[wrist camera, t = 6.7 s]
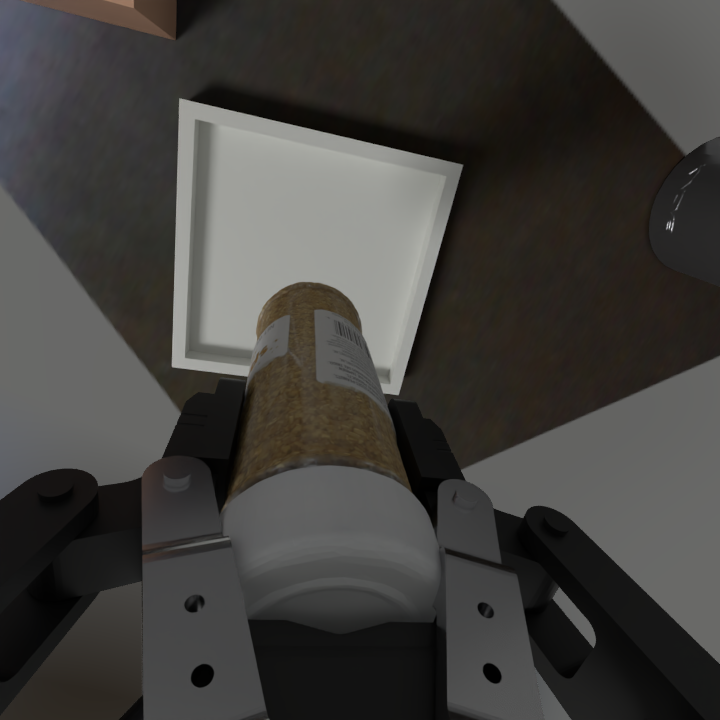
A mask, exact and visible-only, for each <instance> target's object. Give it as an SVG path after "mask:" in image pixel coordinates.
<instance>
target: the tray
mask: <svg viewBox="0 0 720 720" xmlns="http://www.w3.org/2000/svg"><path fill="white" fill-rule="evenodd" d="M462 167H463V165H461V164H457V163H453V162H448V161H444V160H440V159H436V158H431V157H427V156H423V155H419V154H414V153H410V152H406V151H402V150H397V149H393V148H389V147H384V146H380V145H376V144H372V143H367V142H363V141H359V140H355V139H350V138H346V137H342V136H338V135H333V134H329V133H325V132H320V131H316V130H312V129H308V128H303V127H299V126H295V125H291V124H286V123H282V122H278V121H273V120H269V119H265V118H261V117H256V116H252V115H248V114H244V113H239V112H235V111H231V110H227V109H222V108H218V107H214V106H209V105H205V104H201V103H197V102H192V101H188V100H184V99H180V101H179V136H178V171H177V206H176V241H175V277H174V312H173V347H172V367H176V368H184V369H192V370H200V371H208V372H216V373H224V374H232V375H241V376H248V375H249V369H250V364H251V358H252V354H253V350H254V347H255V345H256V342H257V335H256V328H257V322H258V317H259V315H260V313H261V311H262V308H263V306H264V305H265V303H266V302H267V301H268V300H269V299H270V298H271V297H272V296H273V295H274V294H276V293H277V292H278V291H279V290H281V289H283V288H285V287H287V286H289V285H292V284H294V283H298V282H313V283H322V284H325V285H328V286H331V287H333V288H336V289H337V290H339V291H340V292H342V293H343V294H344V295H345V296H346V297H348V298H349V299H350V301H351V302H352V303H353V305H354V307H355V309H356V310H357V312H358V314H359V318H360V320H361V325H362V335H363V337H364V339H365V341H366V343H367V346H368V349H369V351H370V354H371V358H372V361H373V364H374V367H375V370H376V373H377V376H378V379H379V382H380V385H381V388H382V391H383V393H386V394H394V395H399V391H400V388H401V384H402V381H403V377H404V374H405V370H406V366H407V363H408V359H409V356H410V352H411V349H412V345H413V342H414V338H415V334H416V331H417V327H418V324H419V320H420V317H421V313H422V310H423V306H424V302H425V299H426V295H427V292H428V288H429V285H430V281H431V278H432V274H433V270H434V267H435V263H436V260H437V256H438V253H439V249H440V246H441V242H442V238H443V235H444V231H445V228H446V224H447V221H448V217H449V214H450V210H451V206H452V203H453V199H454V196H455V192H456V189H457V185H458V182H459V178H460V174H461V171H462Z"/></svg>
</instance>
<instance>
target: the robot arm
mask: <svg viewBox="0 0 720 720" xmlns="http://www.w3.org/2000/svg"><path fill="white" fill-rule="evenodd" d="M649 238H650V242H651V246H652V249H653V251H654V253H655V254H656V256H657V258H658V259H659V260H660V261H661V262H662V263H663V264H664V265H665V266H667V267H669V268H671V269H673V270H675V271H678V272H681V273H684V274H687V275H690V276H692V277H695V278H698V279H701V280H704V281H706V282H709V283H712V284H715V285H717V286H720V137H717V138H715V139H713V140H710V141H708V142H706V143H704V144H702V145H701V146H699V147H698V148H696V149H695V150H693V151H692V152H691V153H689V154H688V155H687V156H686V157H685V158H684V159H683V160H682V161H681V162H680V163H679V164H677V165H676V167H675V168H674V169H673V170H672V172H671V173H670V174H669V176H668V177H667V178H666V180H665V181H664V183H663V185H662V187H661V188H660V190H659V192H658V194H657V196H656V199H655V202H654V204H653V207H652V210H651V216H650V221H649ZM245 390H246V380H238V379H229V378H220V380H219V383H218V386H217V389H216V392H215V394H210V393H201V392H198V393H197V394H195V395H194V396H193V397H191V398H190V399H189V400H187V401H186V403H185V405H184V408H183V410H182V412H181V415H180V417H179V419H178V422H177V425H176V426H175V429H174V431H173V433H172V436H171V438H170V441H169V443H168V445H167V447H166V450H165V452H164V455H163V457H162V459H160V460H158V461H156V462H154V463H152V464H151V465H150V466H149V467H148V468H147V469H146V470H145V471H144V473H143V476H142V477H141V478H138V479H136V480H133V481H129V482H124V483H118V484H111V485H104V486H98V483H97V481H96V479H95V478H94V477H93V476H92V475H91V474H89V473H88V472H85V471H82V470H78V469H57V470H51V471H48V472H44V473H41V474H39V475H36V476H34V477H33V478H30V479H29V480H27V481H25V482H24V483H23V484H21V485H20V486H18V487H17V488H16V489H15V490H13V491H12V492H11V493H9V494H8V495H6V496H5V497H4V498H3V499H1V500H0V715H1V714H2V713H3V711H4V710H5V709H6V708H7V707H8V705H9V704H10V703H11V702H12V700H13V699H14V698H15V697H16V695H17V694H18V693H19V692H20V690H21V689H22V688H23V687H24V686H25V684H26V683H27V682H28V681H29V679H30V678H31V677H32V676H33V674H34V673H35V672H36V671H37V669H38V668H39V667H40V666H41V664H42V663H43V662H44V661H45V660H46V658H47V657H48V656H49V655H50V653H51V652H52V651H53V650H54V648H55V647H56V646H57V645H58V644H59V642H60V641H61V640H62V639H63V637H64V636H65V635H66V634H67V632H68V631H69V630H70V628H72V626H73V625H74V624H75V622H76V621H77V620H78V619H79V618H80V616H81V615H82V614H83V613H84V611H85V610H86V609H87V608H88V607H89V605H90V604H91V603H92V601H93V600H94V599H95V598H96V596H97V595H98V593H99V592H100V591H103V590H107V589H111V588H115V587H119V586H123V585H128V584H132V583H136V582H140V581H142V696H141V697H140V698H139V699H138V700H137V701H136V702H135V703H134V704H133V705H132V706H131V707H130V708H129V709H128V710H127V711H126V713H125V714H124V715H123V716H122V717H121V718H120V719H119V720H544V716H543V711H542V705H541V700H540V695H539V689H538V684H537V679H536V673H535V668H536V669H537V671H538V672H539V674H540V675H541V677H542V678H543V680H544V681H545V682H546V684H547V685H548V687H549V688H550V689H551V691H552V692H553V694H554V695H555V697H556V698H557V700H558V701H559V702H560V704H561V705H562V707H563V708H564V710H565V711H566V712H567V714H568V715H569V717H570V718H571V719H572V720H720V664H719V663H718V662H717V661H716V660H715V659H714V658H713V657H712V656H711V655H710V654H709V653H708V652H707V651H706V650H705V649H704V648H702V647H701V646H700V645H699V644H698V643H697V642H696V641H695V640H694V639H693V638H692V637H691V636H690V635H689V634H688V633H687V632H686V631H685V630H684V629H683V628H682V627H681V626H680V625H679V624H678V623H677V622H676V621H675V620H674V619H673V618H671V617H670V616H669V614H668V613H667V612H665V611H664V610H663V609H662V608H661V607H660V606H659V605H658V604H657V603H656V602H655V601H654V600H653V599H652V598H651V597H650V596H649V595H648V594H647V593H646V592H645V591H644V590H643V589H642V588H641V587H640V586H639V585H638V584H637V583H636V582H635V581H634V580H633V579H631V578H630V576H628V575H627V574H626V573H625V572H624V571H623V570H622V569H621V568H620V567H619V566H618V565H617V564H616V563H615V562H614V561H613V560H612V559H611V558H610V557H609V556H608V555H607V554H606V553H605V552H604V551H603V550H602V549H601V548H600V547H599V546H598V545H597V544H596V543H595V542H594V541H592V540H591V539H590V538H589V537H588V536H587V535H586V534H585V533H584V532H583V531H582V530H581V529H580V528H579V527H578V526H577V525H576V524H575V523H574V522H573V521H572V520H570V519H569V518H568V517H567V516H565V515H564V514H562V513H560V512H558V511H556V510H554V509H552V508H548V507H544V506H534V507H531V508H530V509H528V510H527V512H526V514H525V516H524V518H520V517H517V516H514V515H511V514H507V513H504V512H501V511H499V510H496V509H494V508H493V505H492V502H491V500H490V498H489V497H488V496H487V494H486V493H485V492H484V491H482V490H481V489H480V488H478V487H477V486H475V485H474V484H471V483H469V482H467V481H466V480H465V478H464V476H463V474H462V472H461V470H460V468H459V466H458V464H457V461H456V459H455V457H454V455H453V453H451V449H450V447H449V445H448V443H446V442H447V441H446V438H445V436H444V434H443V432H442V430H441V429H440V428H439V427H438V426H437V425H436V424H435V423H434V422H433V421H432V420H431V419H425V418H423V417H422V414H421V412H420V410H419V407H418V405H417V403H416V402H415V401H407V400H399V399H391V400H390V402H389V404H388V410H389V413H390V415H391V418H392V421H393V425H394V428H395V432H396V438H397V446H398V449H399V452H400V456H401V459H402V463H403V466H404V469H405V471H406V475H407V478H408V481H409V484H410V487H411V490H412V494H414V495H415V497H416V498H417V499H418V500H419V501H420V503H421V504H422V505H423V507H424V508H425V510H426V512H427V514H428V516H429V517H430V520H431V523H432V526H433V529H434V532H435V535H436V538H437V542H438V545H439V554H440V561H441V579H440V584H439V588H438V591H437V594H436V597H435V600H434V602H433V605H432V607H433V608H434V609H435V610H436V617H435V619H434V622H433V623H432V622H387V623H383V624H379V625H376V626H372V627H368V628H364V629H361V630H357V631H353V632H350V633H346V634H335V633H331V632H327V631H324V630H320V629H317V628H313V627H309V626H306V625H302V624H299V623H295V622H291V621H288V620H252V619H247V615H246V610H245V605H244V601H243V596H242V591H241V586H240V581H239V576H238V572H237V567H236V562H235V557H234V552H233V548H232V543H231V540H230V537H229V536H228V535H227V536H223V533H222V528H221V523H220V518H219V515H220V513H221V511H222V508H223V506H224V505H225V501H226V496H227V492H228V487H229V483H230V478H231V470H232V466H233V461H234V457H235V453H236V448H237V439H238V431H239V424H240V418H241V412H242V407H243V402H244V398H245ZM559 587H560V588H561V589H562V591H563V592H564V593H565V594H566V595H567V596H568V597H569V599H570V600H571V601H572V602H573V603H574V604H575V605H576V607H577V608H578V609H579V610H580V611H581V613H582V614H583V615H584V616H585V617H586V618H587V619H588V620H589V622H590V624H591V625H592V627H593V629H594V632H595V636H596V644H595V647H594V648H593V647H592V646H591V645H590V644H589V642H588V641H587V640H586V639H585V638H584V636H583V635H582V634H581V633H580V632H579V630H578V629H577V628H576V627H575V626H574V624H573V623H572V622H571V621H570V619H569V618H568V617H567V616H566V615H565V613H564V612H563V611H562V610H561V609H560V608H559V606H558V605H557V604H556V603H555V601H554V600H553V599H552V598H553V596H554V595H555V593H556V591H557V590H558V588H559ZM534 667H535V668H534Z"/></svg>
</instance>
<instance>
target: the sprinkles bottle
mask: <svg viewBox="0 0 720 720" xmlns="http://www.w3.org/2000/svg"><path fill="white" fill-rule="evenodd" d="M256 335H257V342H256V345H255V347H254V350H253V354H252V358H251V364H250V369H249V375H248V380H247V385H246V391H245V398H244V402H243V407H242V412H241V418H240V424H239V431H238V439H237V448H236V453H235V457H234V461H233V466H232V470H231V478H230V483H229V487H228V492H227V496H226V501H225V505H224V506H223V508H222V511H221V513H220V515H219V518H220V523H221V528H222V533H223V536H227V535H228V536H229V537H230V540H231V543H232V548H233V552H234V557H235V562H236V567H237V572H238V576H239V581H240V586H241V591H242V596H243V601H244V605H245V610H246V615H247V619H252V620H288V621H291V622H295V623H299V624H302V625H306V626H309V627H313V628H317V629H320V630H324V631H327V632H331V633H335V634H346V633H350V632H353V631H357V630H361V629H364V628H368V627H372V626H376V625H379V624H383V623H387V622H432V623H433V622H434V619H435V617H436V610H435V609H434V608H433V607H432V605H433V602H434V600H435V597H436V594H437V591H438V588H439V584H440V579H441V561H440V554H439V545H438V542H437V538H436V535H435V532H434V529H433V526H432V523H431V520H430V517H429V516H428V514H427V512H426V510H425V508H424V507H423V505H422V504H421V503H420V501H419V500H418V499H417V498H416V497H415V495H414V494H412V490H411V487H410V484H409V481H408V478H407V475H406V471H405V469H404V466H403V463H402V459H401V456H400V452H399V449H398V446H397V438H396V432H395V428H394V425H393V421H392V418H391V415H390V413H389V410H388V407H387V403H386V400H385V397H384V394H383V391H382V388H381V385H380V382H379V379H378V376H377V373H376V370H375V367H374V364H373V361H372V358H371V354H370V351H369V349H368V346H367V343H366V341H365V339H364V337H363V335H362V325H361V320H360V318H359V314H358V312H357V310H356V309H355V307H354V305H353V303H352V302H351V301H350V299H349V298H348V297H346V296H345V295H344V294H343V293H342V292H340V291H339V290H337V289H336V288H333V287H331V286H328V285H325V284H322V283H313V282H298V283H294V284H292V285H289V286H287V287H285V288H283V289H281V290H279V291H278V292H277V293H276V294H274V295H273V296H272V297H271V298H270V299H269V300H268V301H267V302H266V303H265V305H264V306H263V308H262V311H261V313H260V315H259V317H258V322H257V328H256Z"/></svg>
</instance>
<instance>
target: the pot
mask: <svg viewBox="0 0 720 720" xmlns="http://www.w3.org/2000/svg"><path fill="white" fill-rule="evenodd" d="M21 1H25V2H29V3H33V4H37V5H41V6H44V7H48V8H52V9H56V10H60V11H64V12H68V13H72V14H75V15H79V16H83V17H87V18H91V19H95V20H99V21H103V22H106V23H110V24H114V25H118V26H122V27H126V28H130V29H134V30H138V31H141V32H145V33H149V34H153V35H157V36H161V37H165V38H169V39H172V40H176V12H177V0H21Z"/></svg>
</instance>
